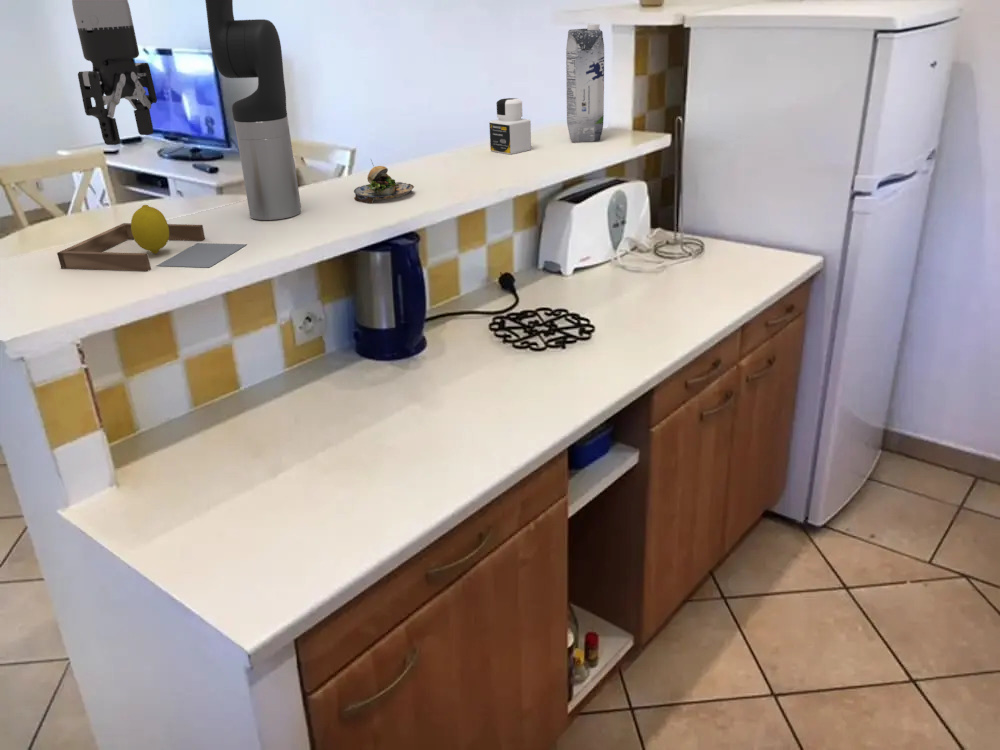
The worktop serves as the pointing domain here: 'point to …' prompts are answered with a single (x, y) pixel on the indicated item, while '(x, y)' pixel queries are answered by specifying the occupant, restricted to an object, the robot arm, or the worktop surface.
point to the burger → (380, 187)
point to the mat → (202, 255)
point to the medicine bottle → (510, 128)
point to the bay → (94, 257)
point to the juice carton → (585, 83)
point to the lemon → (150, 229)
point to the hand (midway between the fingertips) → (130, 139)
